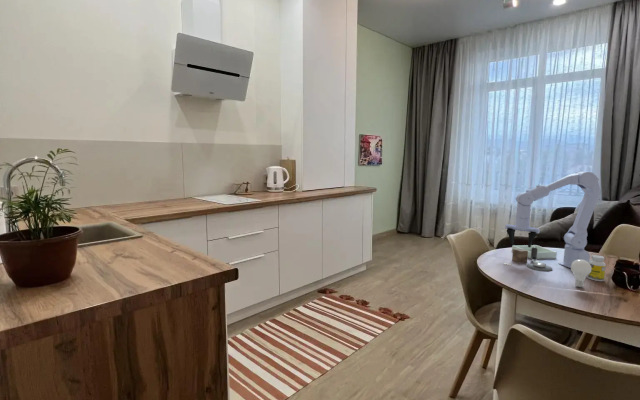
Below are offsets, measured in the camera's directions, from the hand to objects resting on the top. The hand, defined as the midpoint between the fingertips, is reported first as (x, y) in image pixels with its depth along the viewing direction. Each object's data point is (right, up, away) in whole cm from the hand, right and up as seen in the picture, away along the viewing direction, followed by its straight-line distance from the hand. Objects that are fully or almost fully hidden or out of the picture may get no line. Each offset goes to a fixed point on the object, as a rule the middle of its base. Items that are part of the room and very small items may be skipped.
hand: (520, 245), depth 165 cm
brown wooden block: (0, -8, +1) cm, 8 cm away
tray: (+14, -7, +12) cm, 20 cm away
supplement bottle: (+18, -11, -23) cm, 31 cm away
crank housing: (-1, -9, -7) cm, 11 cm away
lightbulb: (+4, -12, -33) cm, 35 cm away
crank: (+5, -8, -4) cm, 10 cm away
